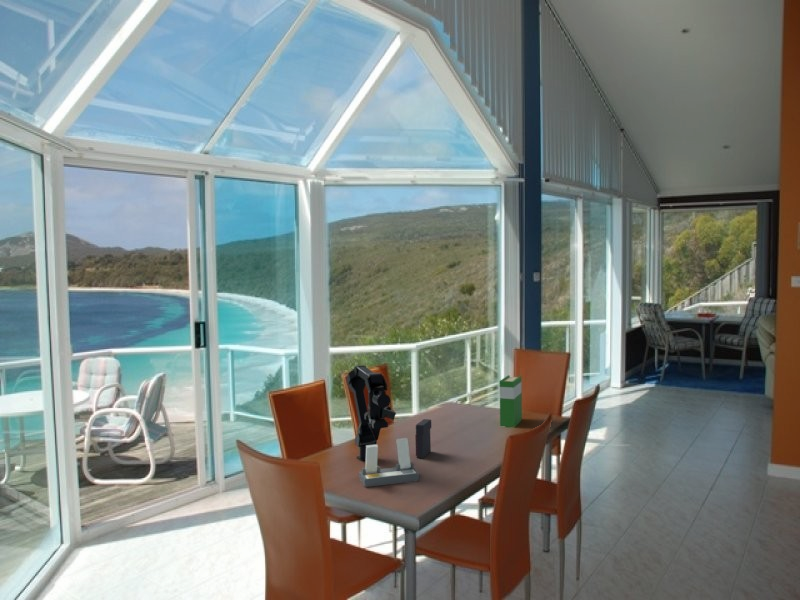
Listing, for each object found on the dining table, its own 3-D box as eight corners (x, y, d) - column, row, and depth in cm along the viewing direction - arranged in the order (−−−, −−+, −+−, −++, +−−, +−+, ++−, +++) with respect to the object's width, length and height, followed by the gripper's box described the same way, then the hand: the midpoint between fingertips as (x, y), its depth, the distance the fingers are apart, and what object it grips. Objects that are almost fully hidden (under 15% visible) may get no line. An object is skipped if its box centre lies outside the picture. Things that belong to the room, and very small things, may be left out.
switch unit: (359, 478, 255) (359, 465, 254) (411, 472, 260) (411, 459, 260) (364, 487, 245) (364, 473, 245) (419, 480, 251) (418, 467, 250)
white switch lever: (365, 471, 252) (366, 445, 248) (375, 470, 253) (376, 444, 249) (366, 474, 250) (367, 447, 246) (376, 473, 252) (378, 446, 248)
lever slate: (399, 469, 255) (395, 439, 259) (409, 468, 256) (406, 438, 260) (400, 469, 253) (397, 438, 257) (411, 468, 255) (407, 437, 258)
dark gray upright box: (423, 450, 291) (422, 418, 290) (432, 451, 289) (431, 419, 288) (414, 457, 280) (414, 424, 279) (424, 458, 279) (423, 425, 278)
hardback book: (508, 418, 346) (507, 375, 345) (521, 419, 344) (521, 376, 342) (500, 426, 330) (499, 381, 329) (514, 427, 327) (513, 381, 326)
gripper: (399, 406, 260) (400, 443, 261) (388, 397, 278) (389, 432, 278) (373, 408, 257) (374, 446, 258) (363, 399, 275) (364, 434, 276)
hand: (376, 439), depth 267 cm, fingers closed
